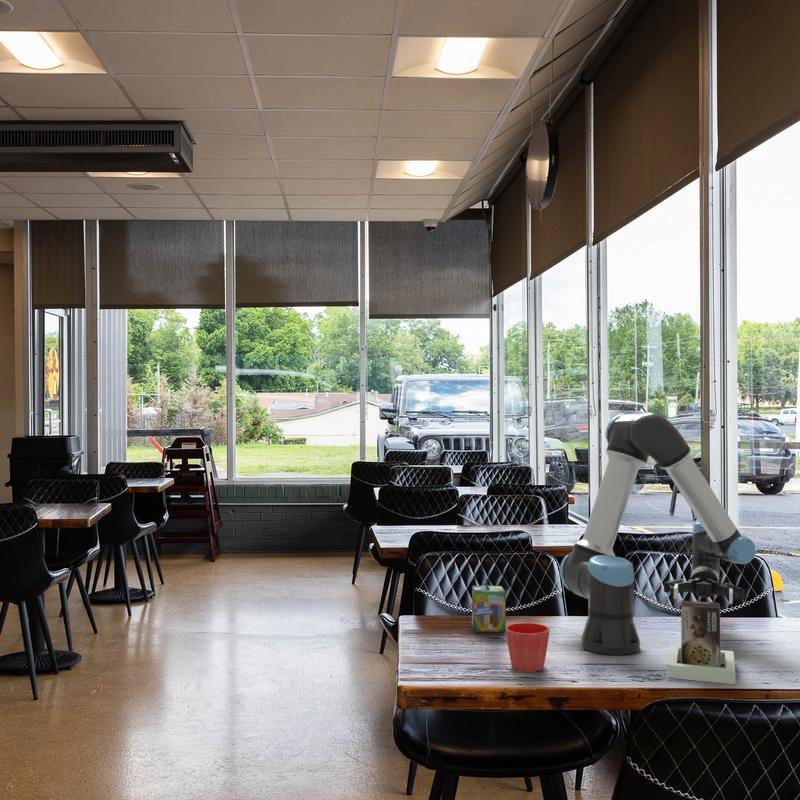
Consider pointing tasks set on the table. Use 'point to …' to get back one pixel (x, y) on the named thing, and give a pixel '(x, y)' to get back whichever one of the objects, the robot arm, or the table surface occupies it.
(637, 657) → the table surface
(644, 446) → the robot arm
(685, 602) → the coffee box
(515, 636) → the flower pot
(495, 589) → the chalk box
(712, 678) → the sage collar
